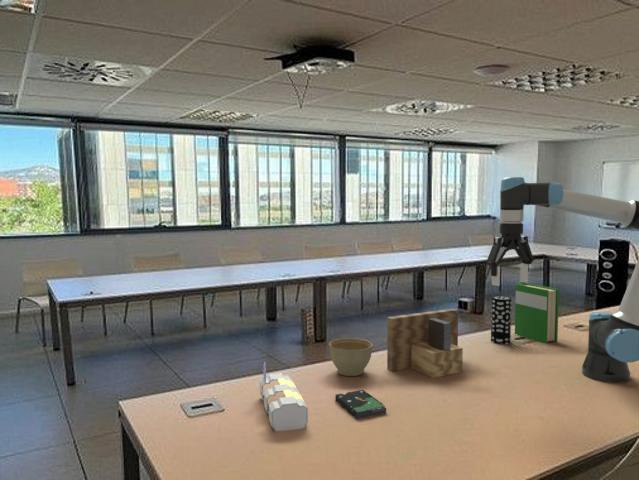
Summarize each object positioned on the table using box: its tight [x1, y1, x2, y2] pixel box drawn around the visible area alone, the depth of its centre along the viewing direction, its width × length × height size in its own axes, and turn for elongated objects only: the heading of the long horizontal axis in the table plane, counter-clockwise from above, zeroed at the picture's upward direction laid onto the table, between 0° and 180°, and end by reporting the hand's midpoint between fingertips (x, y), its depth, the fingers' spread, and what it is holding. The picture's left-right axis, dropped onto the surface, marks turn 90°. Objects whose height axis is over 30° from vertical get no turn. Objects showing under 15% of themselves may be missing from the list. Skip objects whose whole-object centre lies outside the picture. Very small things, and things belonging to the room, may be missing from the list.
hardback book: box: [514, 282, 560, 345], centre depth 227 cm, size 18×7×24 cm, turn 25°
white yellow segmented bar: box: [259, 361, 309, 433], centre depth 149 cm, size 25×10×13 cm, turn 14°
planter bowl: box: [328, 337, 373, 377], centre depth 183 cm, size 16×16×11 cm
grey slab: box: [428, 318, 451, 351], centre depth 184 cm, size 3×9×16 cm, turn 27°
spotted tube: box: [490, 295, 512, 345], centre depth 221 cm, size 8×8×20 cm
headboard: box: [386, 308, 464, 379], centre depth 186 cm, size 32×16×20 cm, turn 117°
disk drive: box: [334, 389, 387, 420], centre depth 152 cm, size 10×3×15 cm
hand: (510, 283), depth 170 cm, fingers open, 13 cm apart
